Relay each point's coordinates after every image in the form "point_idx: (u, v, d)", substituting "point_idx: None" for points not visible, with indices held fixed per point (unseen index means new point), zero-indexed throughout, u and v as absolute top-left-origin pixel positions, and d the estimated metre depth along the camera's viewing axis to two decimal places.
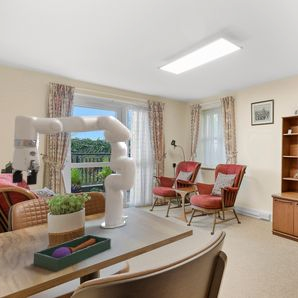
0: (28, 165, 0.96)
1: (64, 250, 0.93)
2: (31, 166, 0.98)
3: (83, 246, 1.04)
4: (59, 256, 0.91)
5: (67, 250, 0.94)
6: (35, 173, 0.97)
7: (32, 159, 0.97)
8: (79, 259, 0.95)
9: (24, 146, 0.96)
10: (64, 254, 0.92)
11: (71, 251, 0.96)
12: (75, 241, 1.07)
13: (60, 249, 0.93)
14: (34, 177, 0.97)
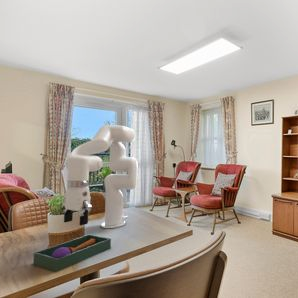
0: (81, 206, 0.97)
1: (64, 250, 0.93)
2: (83, 206, 1.00)
3: (83, 246, 1.04)
4: (59, 256, 0.91)
5: (67, 250, 0.94)
6: (87, 213, 0.98)
7: (84, 199, 0.99)
8: (79, 259, 0.95)
9: (77, 187, 0.98)
10: (64, 254, 0.92)
11: (71, 251, 0.96)
12: (75, 241, 1.07)
13: (60, 249, 0.93)
14: (86, 217, 0.99)
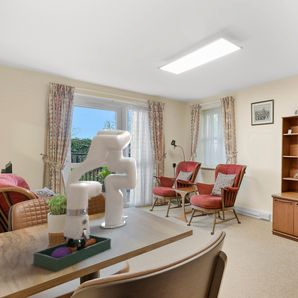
0: (80, 236, 0.98)
1: (63, 250, 0.93)
2: None
3: None
4: (58, 256, 0.91)
5: (66, 250, 0.94)
6: (84, 243, 0.99)
7: (84, 227, 0.99)
8: (79, 259, 0.95)
9: (77, 216, 0.97)
10: (63, 254, 0.92)
11: (70, 251, 0.96)
12: (75, 241, 1.07)
13: (60, 249, 0.93)
14: (83, 247, 0.99)
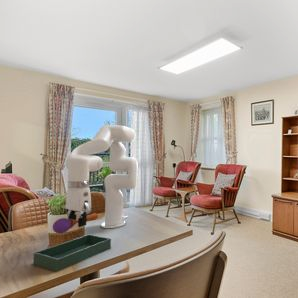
0: (81, 208, 0.98)
1: (65, 221, 0.94)
2: None
3: None
4: (60, 226, 0.92)
5: (68, 221, 0.94)
6: (86, 215, 1.00)
7: (85, 200, 0.99)
8: (79, 259, 0.95)
9: (78, 188, 0.98)
10: (65, 224, 0.93)
11: (72, 222, 0.97)
12: (75, 241, 1.07)
13: (61, 219, 0.93)
14: (84, 219, 1.00)
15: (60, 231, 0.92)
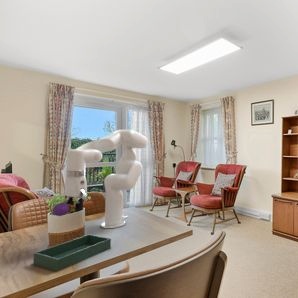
0: (78, 195, 1.11)
1: (63, 205, 1.06)
2: (80, 194, 1.13)
3: None
4: (59, 209, 1.04)
5: (66, 205, 1.07)
6: (82, 201, 1.13)
7: (82, 187, 1.12)
8: (79, 259, 0.95)
9: (75, 176, 1.11)
10: (63, 208, 1.05)
11: (70, 207, 1.10)
12: (75, 241, 1.07)
13: (60, 203, 1.06)
14: (81, 204, 1.13)
15: (59, 214, 1.05)
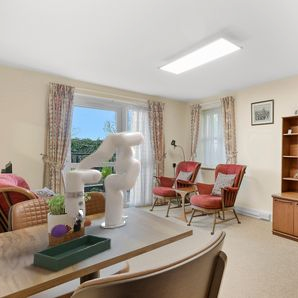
0: (76, 216, 1.13)
1: (61, 226, 1.08)
2: (78, 214, 1.15)
3: None
4: (57, 231, 1.06)
5: (64, 227, 1.08)
6: (80, 222, 1.14)
7: (80, 208, 1.14)
8: (79, 259, 0.95)
9: (74, 198, 1.12)
10: (61, 230, 1.07)
11: (68, 228, 1.11)
12: (75, 241, 1.07)
13: (58, 225, 1.07)
14: (79, 225, 1.14)
15: (57, 236, 1.06)
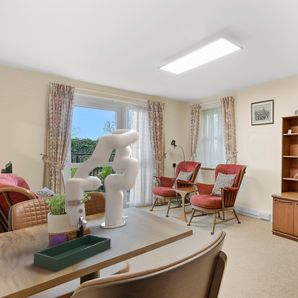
0: (77, 222, 1.13)
1: (61, 236, 1.07)
2: (79, 221, 1.15)
3: None
4: (56, 241, 1.06)
5: (64, 236, 1.08)
6: (83, 228, 1.14)
7: (80, 216, 1.14)
8: (79, 259, 0.95)
9: (74, 205, 1.13)
10: (61, 240, 1.07)
11: (67, 238, 1.11)
12: (75, 241, 1.07)
13: (58, 235, 1.07)
14: (82, 231, 1.14)
15: None
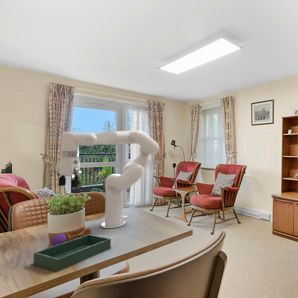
0: (72, 171, 1.20)
1: (61, 236, 1.07)
2: (74, 172, 1.22)
3: None
4: (56, 241, 1.06)
5: (64, 236, 1.08)
6: (77, 178, 1.21)
7: (75, 167, 1.21)
8: (79, 259, 0.95)
9: (69, 156, 1.20)
10: (61, 240, 1.07)
11: (67, 238, 1.11)
12: (75, 241, 1.07)
13: (58, 235, 1.07)
14: (76, 181, 1.21)
15: None
